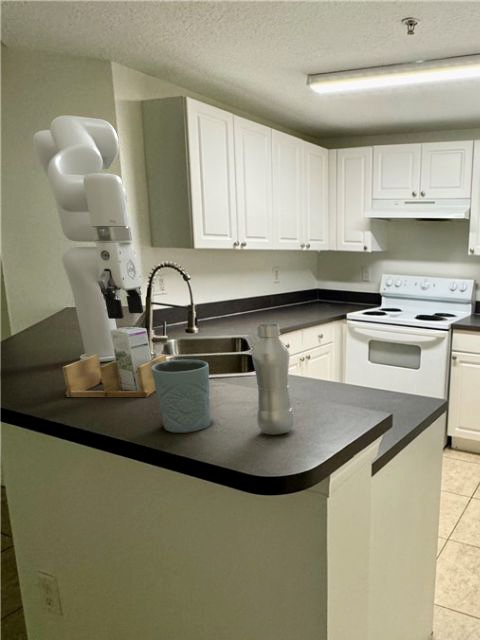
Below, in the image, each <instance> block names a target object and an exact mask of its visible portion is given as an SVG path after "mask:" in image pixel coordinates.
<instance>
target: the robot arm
mask: <svg viewBox="0 0 480 640" xmlns="http://www.w3.org/2000/svg"><path fill="white" fill-rule="evenodd" d="M32 141H33V142H32V143H33V148H34V152H35V155H36V158H37V161H38V162H39V165H40V166H41V169H42V170H43V172H44V174H45V175H46V177H47V179H48V183H49V186H50V189H51V192H52V194H53V197H54V200H55V204H56V209H57V213H58V219H59V222H60V223H59V224H60V226H61V230H62V233H63V235H64V236H65V237H66V239H68V240H69V241H73V242H82V243H94V244H96V246H76V247H71V248H70V247H69V248H68V249H66V250H65V251H64V252H63V253H62V259H61V261H62V265H63V267H64V268H63V269H64V272H65V274H66V276H67V279H68V282H69V285H70V288H71V293H72V295H73V296H72V297H73V302H74V305H75V310H76V317H77V321H78V325H79V330H80V336H81V340H82V344H83V350H84V353H83V354H81V355H80V356H79V360H82V359H84V358H87V357H90V356H92V355H95V354H98V356H99V361H100V363H105V362H112V361H115V360H116V358H115V353H114V348H113V342H112V337H111V332H110V330H114V329H117V328H118V327H117V323H116V320H122V319H124V318H125V315H124V310H123V304H122V300H121V299H120V295H121V294H120V293H121V290H123V291H125V293H126V294H127V295H126V302H127V303H126V304H127V308H128V313H129V314H143V313H144V307H143V306H144V305H143V300H142V291H141V288H142V286H143V279H142V276H141V275H142V274H141V270H140V264H139V261H138V257H137V253H136V251H135V247H134V244H133V243H134V241H133V236H132V229H131V223H130V218H129V212H128V205H127V204H128V196H127V192H126V188H125V187H124V183H123V180H122V178H121V177H120V176H119V175H117V174H115V173H107V172H101V171H102V170H109V169H110V168H111V167H112V166H113V164H114V162H115V161H116V160H117V157H118V155H119V151H120V141H119V138H118V133H117V131H116V130H115V128H114V126H113V125H112V124H111V123H110V122H108V121H107V120H105V119H102V118H94V117H87V116H86V117H85V116H76V115H59V116H57V117H55V118H54V119H53V120H52V121H51V123H50V126H49V129H45V130H44V129H43V130H40V131H37V132H35V134H34V135H33V138H32Z"/></svg>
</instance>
